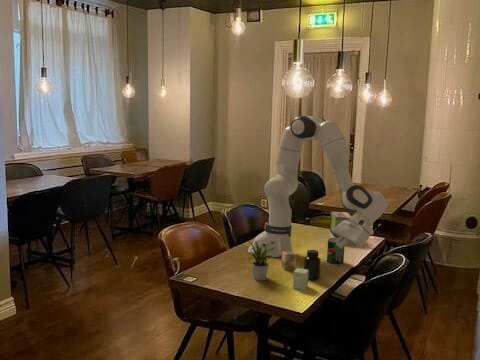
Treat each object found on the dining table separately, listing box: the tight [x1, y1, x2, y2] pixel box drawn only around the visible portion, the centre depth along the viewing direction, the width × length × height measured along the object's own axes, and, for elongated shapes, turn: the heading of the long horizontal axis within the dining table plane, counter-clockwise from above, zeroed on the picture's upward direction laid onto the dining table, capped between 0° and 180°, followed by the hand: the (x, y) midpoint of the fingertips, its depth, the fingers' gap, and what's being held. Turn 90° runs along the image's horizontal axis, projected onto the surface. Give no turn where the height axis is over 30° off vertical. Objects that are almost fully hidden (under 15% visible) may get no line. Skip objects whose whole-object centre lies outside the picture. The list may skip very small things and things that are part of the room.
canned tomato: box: [326, 237, 346, 266], centre depth 227 cm, size 8×8×11 cm
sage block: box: [292, 267, 309, 291], centre depth 194 cm, size 5×5×7 cm
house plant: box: [247, 241, 275, 281], centre depth 203 cm, size 14×14×16 cm
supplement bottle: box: [303, 249, 321, 282], centre depth 205 cm, size 7×7×12 cm
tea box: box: [329, 211, 353, 244], centre depth 268 cm, size 15×10×15 cm, turn 178°
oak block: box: [281, 250, 297, 271], centre depth 218 cm, size 5×5×7 cm
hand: (337, 246), depth 207 cm, fingers closed
